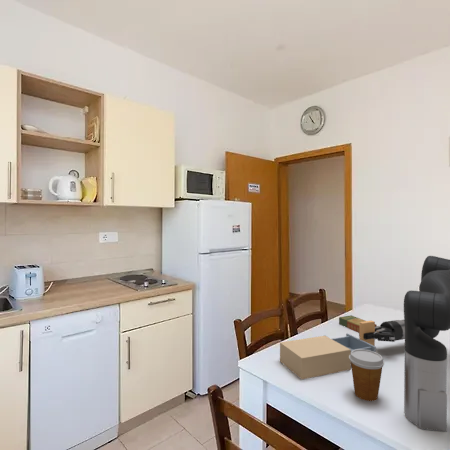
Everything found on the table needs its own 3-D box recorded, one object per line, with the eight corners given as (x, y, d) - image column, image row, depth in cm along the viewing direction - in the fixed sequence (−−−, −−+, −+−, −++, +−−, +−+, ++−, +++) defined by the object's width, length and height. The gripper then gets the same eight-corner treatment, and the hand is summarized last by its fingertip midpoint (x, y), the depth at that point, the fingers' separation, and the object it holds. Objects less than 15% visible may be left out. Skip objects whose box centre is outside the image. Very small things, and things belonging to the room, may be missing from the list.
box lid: (301, 379, 100) (301, 358, 100) (279, 361, 113) (280, 342, 113) (350, 369, 107) (350, 349, 107) (324, 353, 120) (324, 335, 120)
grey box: (330, 372, 104) (330, 335, 104) (306, 355, 117) (306, 322, 117) (388, 360, 113) (388, 326, 112) (359, 346, 126) (359, 315, 126)
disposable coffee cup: (354, 383, 98) (354, 346, 97) (387, 394, 92) (387, 354, 91) (344, 396, 90) (344, 356, 90) (379, 409, 84) (380, 365, 84)
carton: (363, 335, 140) (363, 326, 140) (338, 324, 155) (338, 316, 155) (377, 333, 143) (377, 324, 143) (351, 322, 158) (351, 314, 158)
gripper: (381, 316, 130) (349, 320, 124) (411, 326, 117) (376, 331, 111) (381, 333, 130) (349, 338, 124) (411, 345, 117) (376, 352, 111)
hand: (362, 335), depth 117 cm, fingers closed on grey box
